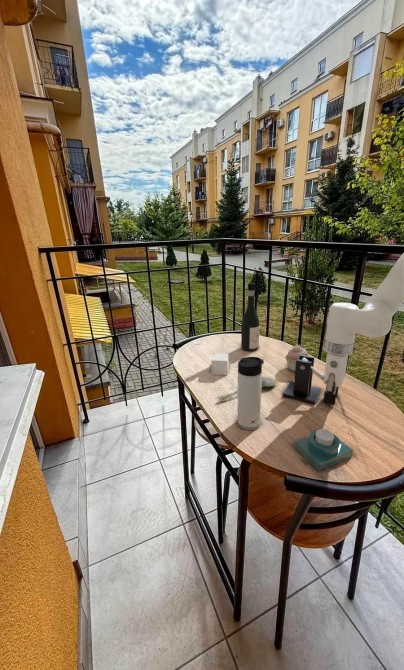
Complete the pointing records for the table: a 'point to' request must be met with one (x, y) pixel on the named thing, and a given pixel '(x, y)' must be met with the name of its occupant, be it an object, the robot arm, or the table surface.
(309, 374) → the lever bracket
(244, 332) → the wine bottle
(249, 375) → the travel mug
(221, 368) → the white cube
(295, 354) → the cupcake
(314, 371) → the flush lever
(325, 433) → the flush button
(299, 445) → the plate
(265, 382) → the soupspoon
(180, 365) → the table surface
